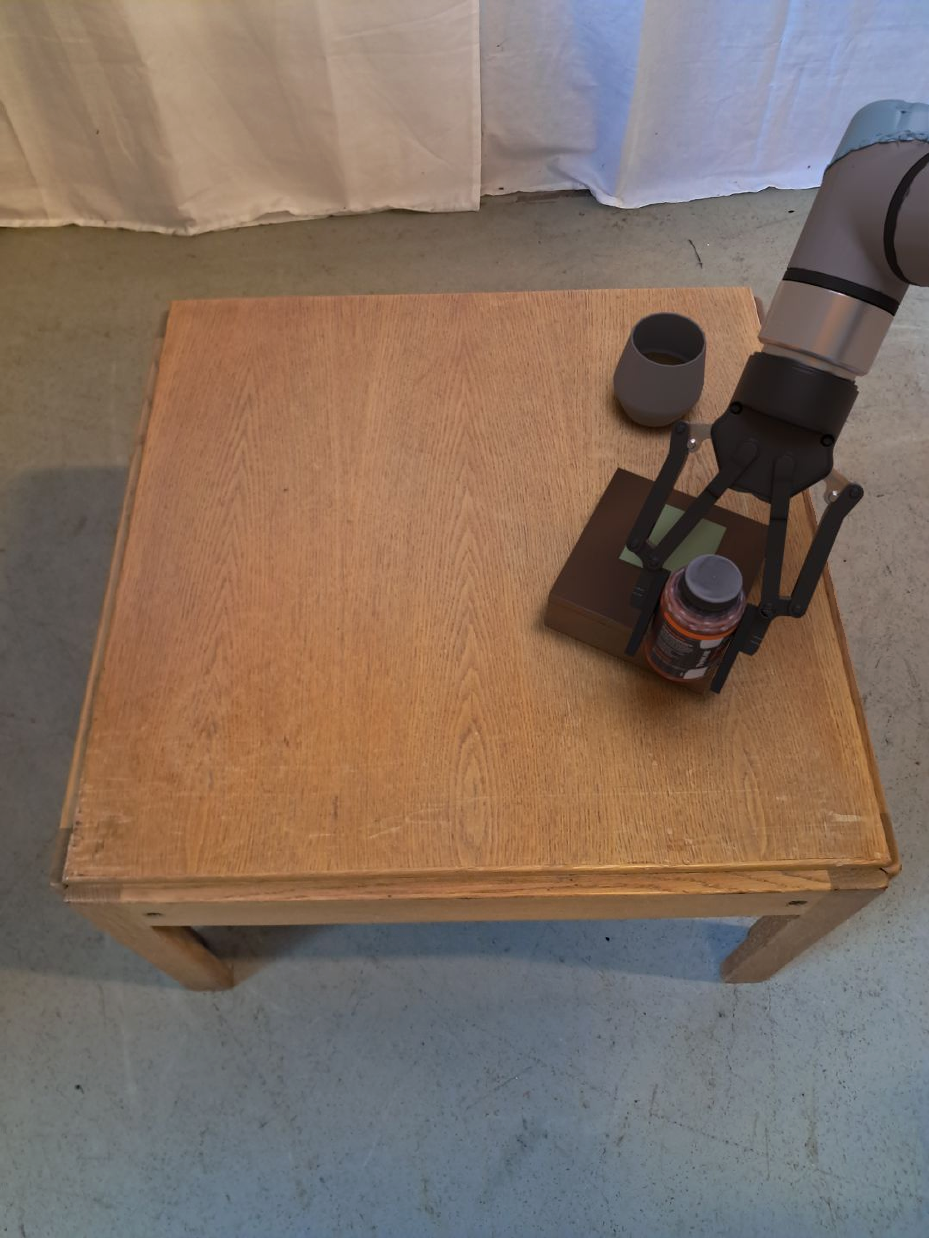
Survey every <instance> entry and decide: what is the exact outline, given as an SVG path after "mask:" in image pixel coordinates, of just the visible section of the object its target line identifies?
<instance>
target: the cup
mask: <svg viewBox="0 0 929 1238" xmlns="http://www.w3.org/2000/svg"><path fill="white" fill-rule="evenodd" d="M707 343H708V342H707V338H706V333H705V331H704V330H703V329H702V327H701V326H700V325H699V323H697V322H696V321H695V320H693V319H692V318H691V317H688V316H685V315H683V314H680V313H678V312H669V311H661V312H654V313H650V314H648V315H646V316H643V317H642V318H640V319H639V320H638V321H637V322H636V323H635V324H634V325H633V326H632V328H631V331H630V334H629V336H628V338H627V340H626V343H625V345H624V347H623V350H622V352H621V354H620V357H619V359H618V361H617V364H616V366H615V370H614V373H613V375H612V381H613V390H614V394H615V396H616V399H617V400H618V401H619V403H620V405H621V407H622V408H623V410H624V412H625V413H626V415H627V417H628V418H630V419H631V420H632V421H634V422H635V423H637V424H640V425H641V426H643V427H651V428H660V427H661V428H662V427H666V426H668V425H671V424H672V423H675V422H676V421H679V420H680V419H681V418H682V417H683V416H685V415H686V414H688V413H689V412H690V411H691V410H692V409H693V408H694V406H695V405H696V404H697V403H698V402H699V400H700V399H701V396H702V393H703V389H704V386H705V385H704V384H705V372H706V358H707Z"/></svg>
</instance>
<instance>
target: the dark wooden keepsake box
mask: <svg viewBox="0 0 929 1238" xmlns="http://www.w3.org/2000/svg"><path fill="white" fill-rule="evenodd" d="M655 481H656V480H652V479H651V478H647V477H645V476H643V475H640V474H637V473H635V472H632V471H630V470H627V469H624V468H622V467H620V466H618V467H617V468H616V470H615V472H614V473H613V475H612V477H611V479H610V480H609V482H608V484H607V486H606V488H605V490H604V492H603V494H602V495H601V497H600V499H599V500H598V502H597V504H596V506H595V508H594V510H593V512H592V514H591V515H590V517H589V519H588V521H587V523H586V525H585V526H584V528H583V530H582V532H581V534H580V535H579V538H577V541H576V542H575V544H574V546H573V548H572V550H571V551H570V554H569V556H568V557H567V559H566V561H565V563H564V565H563V567H562V568H561V570H560V571H559V574H558V576H557V577H556V579H555V581H554V583H553V584H552V586H551V589H550V590H549V592H548V596H547V604H546V611H545V619H544V626H545V627H548V628H550V629H553V630H555V631H557V632H559V633H562V634H564V635H566V636H568V637H571V638H573V639H576V640H577V641H580V642H582V643H584V644H587V645H589V646H591V647H594V648H596V649H598V650H601V651H603V652H604V653H607V654H609V655H611V656H614V657H615V658H619V659H621V660H623V661H625V662H628V663H630V664H632V665H634V666H637V667H639V668H642V669H643V670H646V671H648V672H650V673H652V674H655V675H657V676H660V677H662V678H664V679H665V680H668V681H671V682H673V683H675V684H678V685H679V686H682V687H685V688H687V689H689V690H691V691H693V692H695V693H697V694H700V695H705V693H706V691H707V689H708V687H709V685H710V684H711V682H712V679H713V677H714V675H715V673H716V671H717V669H718V666H719V664H720V662H721V660H722V658H723V656H724V653H725V651H726V649H727V647H728V646H727V647H726V649H725V651H724V652H723V654H722V656H721V658H720V660H719V661H718V663H717V665H716V666H715V667H714V669H713V670H712V671H711V672H710V673H709V674H708V675H707V676H705V677H704V678H702V679H699V680H696V681H691V682H679V681H674V680H671V679H669V678H666V677H664V676H663V675H661V674H660V673H659V672H657V671H656V670H655V669H654V668H653V667H652V665H651V664H650V663H649V661H648V658H647V656H646V653H645V638H646V634H647V631H648V628H649V626H648V628H647V630H646V633H645V635H644V637H643V640H642V642H641V644H640V647H639V649H638V650H637V652H636V654H635V655H634V657H632V656H629V655H627V654H625V653H624V652H625V649H626V647H627V644H628V642H629V640H630V637H631V635H632V633H633V630H634V628H635V625H636V623H637V621H638V618H639V616H640V614H641V611H642V610H639V609H637V608H635V607H632V606H630V598H631V595H632V593H633V590H634V588H635V586H636V583H637V581H638V578H639V576H640V574H641V571H642V568H643V564H642V561H641V559H640V558H639V557H638V556H637V555H635V554H634V553H633V552H630V551H629V550H628V549H627V547H626V541H627V539H628V537H629V535H630V532H631V530H632V528H633V526H634V524H635V522H636V520H637V518H638V516H639V514H640V512H641V510H642V508H643V505H644V503H645V501H646V499H647V497H648V495H649V493H650V491H651V489H652V487H653V485H654V483H655ZM697 497H698V496H697ZM697 497H696V496H694V495H691V494H689V493H686V492H684V491H681V490H679V489H676V488H673V490H672V492H671V494H670V496H669V498H668V500H667V502H666V504H665V507H664V509H663V511H662V513H661V515H660V517H659V519H658V521H657V523H656V525H655V527H654V529H653V531H652V533H651V535H650V537H649V540H650V541H651V542H652V543H653V544H655V545H656V546H657V545H658V544H659V542H660V541H661V540H662V539H663V538H664V536H665V535H666V534H667V533H668V532H669V531H670V529H671V528H672V527H673V526H674V525H675V523H676V522H677V521H678V520H679V519H680V517H681V516H682V515H683V514H684V513H685V512H686V510H687V509H688V508H689V507H690V506H691V504H692V503H693V502H694V501H695V500H696V499H697ZM768 526H769V524H766V523H763V522H761V521H758V520H756V519H754V518H751V517H749V516H745V515H743V514H741V513H738V512H735V511H732V510H729V509H727V508H725V507H722V506H720V505H717V504H716V503H715V504H714V505H713V506H712V508H711V509H710V510H709V511H708V512H707V513H706V515H705V516H704V517H703V518H702V519H701V520H700V522H699V523H698V524H697V525H696V526H695V527H694V529H693V530H692V531H691V532H690V533H689V534H688V536H687V537H686V538H685V539H684V540H683V541H682V543H681V544H680V545H679V546H678V547H677V548H676V550H675V551H674V552H673V553H672V554H671V555H670V557H669V558H668V559H667V560H666V561H665V562H664V565H663V567H662V568H664V569H667V570H669V571H672V572H671V574H670V576H671V575H672V574H673V573H674V572H675V571H676V570H678V569H679V568H681V567H683V566H685V565H688V564H689V563H690V562H691V561H692V560H693V559H695V558H696V557H698V556H701V555H707V554H714V555H719V556H722V557H725V558H727V559H729V560H730V561H732V562H733V563H734V564H735V565H736V566H737V567H738V569H739V571H740V573H741V575H742V588H743V590H744V593H745V598H746V602H747V601H748V598H749V596H750V594H751V592H752V589H753V587H754V585H755V582H756V580H757V577H758V575H759V573H760V570H761V568H762V565H763V564H764V561H765V553H766V544H767V535H768ZM670 576H669V577H670ZM653 615H654V614H653ZM652 617H653V616H652ZM651 620H652V619H651ZM650 623H651V621H650ZM650 623H649V625H650Z"/></svg>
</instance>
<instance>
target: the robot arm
mask: <svg viewBox="0 0 929 1238" xmlns="http://www.w3.org/2000/svg"><path fill="white" fill-rule="evenodd" d="M825 166H826V167H825V168H824V170H823V174H822V179H821V183H820V186H819V188H818V191H817V193H816V195H815V198H814V200H813V203H812V205H811V207H810V210H809V212H808V215H807V218H806V220H805V222H804V225H803V227H802V230H801V231H800V234H799V237H798V239H797V242H796V244H795V246H794V249H793V251H792V254H791V256H790V259H789V262H788V263H787V265H786V270H785V271H784V274H783V276H782V278H781V280H780V281H779V284H778V286H777V288H776V291H775V293H774V296H773V298H772V301H771V303H770V305H769V308H768V310H767V312H766V315H765V317H764V320H763V322H762V324H761V327H760V329H759V332H758V334H757V337H756V338H757V340H758V342H759V343H760V344H762V345H763V346H762V348H761V350H760V351H756V350H755V351H754V352H753V354H749V356H748V358H747V360H746V363H745V366H744V368H743V370H742V372H741V374H740V377H739V379H738V382H737V384H736V387H735V389H734V392H733V394H732V396H731V399H730V401H729V403H728V406H727V407H726V409H725V410H724V412H723V413H722V414H721V415H720V416H719V417H718V418H716V419H715V420H714V421H713V423H704V422H703V423H702V422H691V421H689V420H687V419H681V420H680V419H679V420H676V421H674V422H673V424H672V426H671V429H670V436H669V437H670V438H669V446H668V447H669V448H668V453H667V455H666V458H665V460H664V462H663V464H662V466H661V468H660V470H659V472H658V474H657V476H656V478H655V480H654V481H655V483H654V485H653V487H652V489H651V491H650V493H649V495H648V497H647V499H646V501H645V503H644V505H643V508H642V510H641V512H640V514H639V516H638V518H637V520H636V522H635V524H634V526H633V528H632V530H631V532H630V535H629V537H628V539H627V541H626V547H627V549H628V550H629V551H630V552H633V553H634V554H635V555H637V556H638V557H639V558H640V559H641V561H642V564H643V568H642V571H641V574H640V576H639V578H638V581H637V583H636V586H635V588H634V590H633V593H632V595H631V598H630V606H632V607H635V608H637V609H639V610H642V611H641V614H640V616H639V618H638V621H637V623H636V625H635V628H634V630H633V633H632V635H631V637H630V640H629V642H628V644H627V647H626V649H625V652H624V653H625V654H627V655H629V656H632V657H634V655H635V654H636V652H637V650H638V649H639V647H640V644H641V642H642V640H643V637H644V635H645V633H646V630H647V628H648V626H649V623H650V621H651V619H652V616H653V614H654V612H655V609H656V607H657V604H658V601H659V598H660V596H661V593H662V591H663V588H664V586H665V583H666V582H667V580H668V579H669V576H670V574H671V572H672V571H669V570H667V569H664V568H662V567H663V565H664V562H665V561H666V560H667V559H668V558H669V557H670V555H671V554H672V553H673V552H674V551H675V550H676V548H677V547H678V546H679V545H680V544H681V543H682V541H683V540H684V539H685V538H686V537H687V536H688V534H689V533H690V532H691V531H692V530H693V529H694V527H695V526H696V525H697V524H698V523H699V522H700V520H701V519H702V518H703V517H704V516H705V515H706V513H707V512H708V511H709V510H710V509H711V508H712V506H713V505H714V504H715V505H716V503H717V502H718V501H719V500H720V498H721V497H722V496H723V495H724V494H725V493H726V491H727V490H732V491H734V492H736V493H741V494H750V495H752V496H753V497H755V498H756V499H757V500H759V501H761V502H763V503H765V504H769V505H770V507H769V508H770V509H769V516H768V517H769V519H768V525H769V526H768V535H767V544H766V553H765V559H764V561H763V570H762V571H763V572H762V579H761V580H762V581H761V589H760V598H759V603H758V605H755V604H753V603H750V602H746V603H747V604H746V607H745V612H744V615H743V617H742V619H741V621H740V623H739V625H738V627H737V629H736V630H735V632H734V634H733V636H732V638H731V640H730V641H729V643H728V645H727V648H726V650H725V652H724V655H723V657H722V659H721V662H720V664H719V666H718V668H717V670H716V672H715V674H714V676H713V678H712V680H711V682H710V686H709V691H710V692H713V693H715V694H717V695H720V694H721V691H722V689H723V687H724V684H725V683H726V681H727V679H728V678H729V677H728V676H729V675H730V673H731V670H732V668H733V666H734V665H735V662H736V660H737V657H738V655H739V653H742V654H744V655H747V656H749V657H753V656H754V655H755V654H756V653H757V652H758V651H759V648H760V647H761V645H762V642H763V639H764V638H765V636H766V634H767V632H768V629H769V627H770V625H771V624H772V621H773V620H774V619H776V618H777V617H778V618H779V617H791V618H794V619H801V618H803V617H804V616H805V615H806V613H807V611H808V609H809V606H810V604H811V602H812V598H813V596H814V594H815V591H816V589H817V586H818V584H819V581H820V578H821V577H822V574H823V571H824V569H825V566H826V564H827V561H828V559H829V557H830V554H831V552H832V549H833V546H834V544H835V541H836V540H837V537H838V534H839V532H840V529H841V527H842V524H843V522H844V520H845V518H846V517H847V516H848V515H849V513H850V512H851V511H852V510H853V509H854V508H855V507H856V506H857V505H858V504H859V502H860V501H861V500H862V499H863V498H864V495H865V491H864V488H863V487H862V485H861V484H860V483H859V482H857V481H853V480H851V479H849V478H847V476H845V475H844V474H842V473H841V472H840V471H839V470H837V469H835V468H834V466H835V465H834V464H835V462H834V451H835V446H836V444H837V441H838V439H839V437H840V435H841V433H842V431H843V428H844V427H845V424H846V422H847V420H848V418H849V416H850V413H851V411H852V410H853V407H854V405H855V403H856V400H857V398H858V396H859V395H860V391H859V390H858V389H859V386H858V385H857V384H856V382H857V381H856V378H857V377H865V376H866V375H869V372H870V371H871V369H872V366H873V364H874V362H875V360H876V357H877V356H878V353H879V351H880V349H881V347H882V345H883V343H884V340H885V338H886V337H887V335H888V332H889V330H890V327H891V325H892V323H893V321H894V319H895V316H896V314H897V313H898V310H899V308H900V306H901V304H902V302H903V300H904V298H905V295H906V294H907V291H908V290H909V288H910V286H915V287H920V288H929V104H928V103H923V102H909V101H908V102H907V101H905V100H902V99H894V98H893V99H892V98H889V99H888V98H887V99H880V100H875V101H872V102H869V103H868V104H865V105H864V106H863V107H861V108H860V109H858V110H857V111H856V112H855V114H854V115H853V117H852V118H851V119H850V121H849V123H848V126H847V127H846V129H845V132H844V134H843V135H842V137H841V140H840V142H839V144H838V146H837V148H836V149H835V152H834V154H833V156H832V157H831V159H830V162H829V163H828V164H827V165H825ZM708 439H709V440H711V441H710V442H711V445H712V448H713V453H714V457H715V461H716V466H717V469H718V472H717V473H716V474H715V476H714V477H713V478H712V479H711V480H710V482H709V483H708V484H707V485H706V487H704V489H702V491H701V493H700V494H699V495H698V496H697V499H696V500H695V501H694V502H693V503H692V504H691V506H690V507H689V508H688V509H687V510H686V512H685V513H684V514H683V515H682V516H681V517H680V519H679V520H678V521H677V522H676V523H675V525H674V526H673V527H672V528H671V529H670V531H669V532H668V533H667V534H666V535H665V536H664V538H663V539H662V540H661V541H660V542H659V544H658V545H657V546H656V545H655V544H653V543H652V542H651V541H650V540H649V537H650V535H651V533H652V531H653V529H654V527H655V525H656V523H657V521H658V519H659V517H660V515H661V513H662V511H663V509H664V507H665V504H666V502H667V500H668V498H669V496H670V494H671V492H672V490H673V489H675V486H676V485H677V482H678V480H679V479H680V476H681V474H682V472H683V470H684V468H685V466H686V463H687V461H688V458H689V455H690V454H693V453H696V452H698V451H699V450H700V449H701V447H702V445H703V443H704V441H706V440H708ZM821 481H824V483H825V490H824V492H823V495H822V497H823V500H824V501H823V502H825V504H827V505H826V507H825V509H824V511H823V513H822V515H821V517H820V520H819V522H818V525H817V528H816V530H815V532H814V535H813V537H812V540H811V543H810V545H809V548H808V550H807V552H806V554H805V558H804V560H803V563H802V566H801V568H800V570H799V573H798V575H797V578H796V580H795V582H794V585H793V588H792V591H791V593H790V595H784V594H780V589H781V581H782V572H783V565H784V557H785V547H786V538H787V531H788V522H789V513H790V504H791V499H793V498H794V497H795V496H797V495H799V494H801V493H803V492H804V491H806V490H808V489H809V488H811V487H813V486H814V485H816V484H818V483H820V482H821Z"/></svg>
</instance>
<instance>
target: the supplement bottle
mask: <svg viewBox="0 0 929 1238" xmlns="http://www.w3.org/2000/svg"><path fill="white" fill-rule="evenodd" d="M746 603H747V601H746V598H745V593H744V590H743V588H742V575H741V573H740V571H739V569H738V567H737V566H736V565H735V564H734V563H733V562H732V561H730V560H729V559H727V558H725V557H722V556H719V555H714V554H707V555H701V556H698V557H696V558H695V559H693V560H692V561H691V562H690V563H689V564H688V565H685V566H683V567H681V568H679V569H678V570H676V571H675V572H674V573H673V574H672V575H671V576H670V577H669V579H668V580H667V582H666V583H665V586H664V588H663V591H662V593H661V596H660V598H659V601H658V604H657V607H656V609H655V612H654V615H653V617H652V620H651V623H650V625H649V628H648V631H647V634H646V638H645V653H646V656H647V658H648V661H649V663H650V664H651V665H652V667H653V668H654V669H655V670H656V671H657V672H659V673H660V674H661V675H663V676H664V677H666V678H669V679H671V680H674V681H679V682H691V681H696V680H699V679H702V678H704V677H705V676H707V675H708V674H709V673H710V672H711V671H712V670H713V669H714V667H715V666H716V665H717V663H718V661H719V660H720V658H721V656H722V654H723V652H724V651H726V650H725V649H727V648H726V647H728V645H729V643H730V640H731V638H732V636H733V634H734V632H735V630H736V629H737V627H738V625H739V623H740V621H741V619H742V617H743V615H744V612H745V608H746V606H747V604H746ZM724 653H725V652H724ZM664 677H663V678H664ZM666 678H665V679H666ZM671 680H670V681H671Z"/></svg>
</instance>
